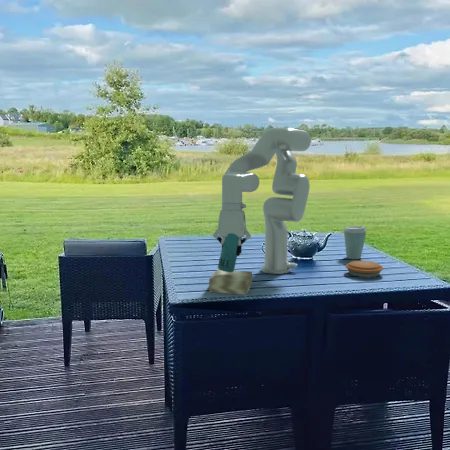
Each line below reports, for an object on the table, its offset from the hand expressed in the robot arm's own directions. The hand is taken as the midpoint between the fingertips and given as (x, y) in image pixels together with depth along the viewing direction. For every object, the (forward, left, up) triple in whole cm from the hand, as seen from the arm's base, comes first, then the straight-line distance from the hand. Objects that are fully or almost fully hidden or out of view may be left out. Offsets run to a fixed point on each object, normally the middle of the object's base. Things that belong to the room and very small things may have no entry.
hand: (231, 254), depth 210 cm
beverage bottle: (+3, +1, -8) cm, 8 cm away
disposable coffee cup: (-48, -63, -13) cm, 80 cm away
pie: (-51, -32, -13) cm, 62 cm away
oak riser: (0, 0, -13) cm, 13 cm away
